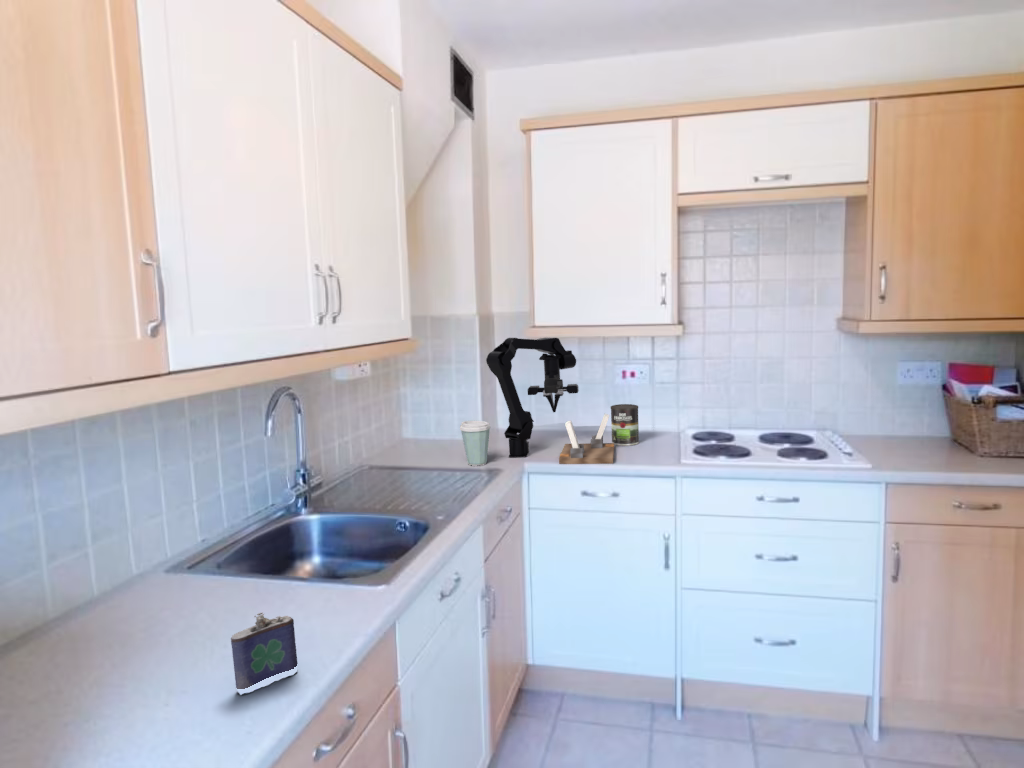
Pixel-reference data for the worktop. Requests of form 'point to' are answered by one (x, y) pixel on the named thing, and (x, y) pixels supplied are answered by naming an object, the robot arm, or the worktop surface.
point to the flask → (263, 650)
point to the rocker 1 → (572, 434)
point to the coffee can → (624, 424)
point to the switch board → (588, 453)
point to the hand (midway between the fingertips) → (554, 412)
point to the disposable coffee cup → (475, 441)
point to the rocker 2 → (602, 426)
